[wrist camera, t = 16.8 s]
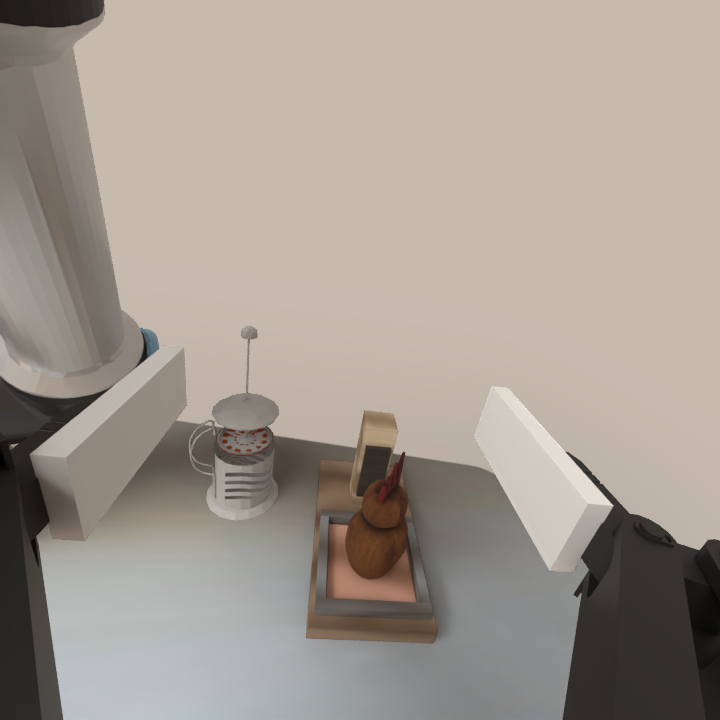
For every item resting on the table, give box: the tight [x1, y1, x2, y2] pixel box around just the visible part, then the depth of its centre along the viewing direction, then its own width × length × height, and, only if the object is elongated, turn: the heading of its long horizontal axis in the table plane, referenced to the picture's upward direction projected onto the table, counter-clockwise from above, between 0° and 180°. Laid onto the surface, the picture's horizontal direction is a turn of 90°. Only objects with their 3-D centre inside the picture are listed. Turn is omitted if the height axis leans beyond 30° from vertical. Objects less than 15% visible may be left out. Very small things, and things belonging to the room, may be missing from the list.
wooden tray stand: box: [306, 411, 437, 643], centre depth 43 cm, size 24×13×15 cm, turn 3°
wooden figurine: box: [345, 452, 408, 579], centre depth 38 cm, size 7×6×15 cm
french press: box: [189, 326, 279, 521], centre depth 44 cm, size 10×12×25 cm
